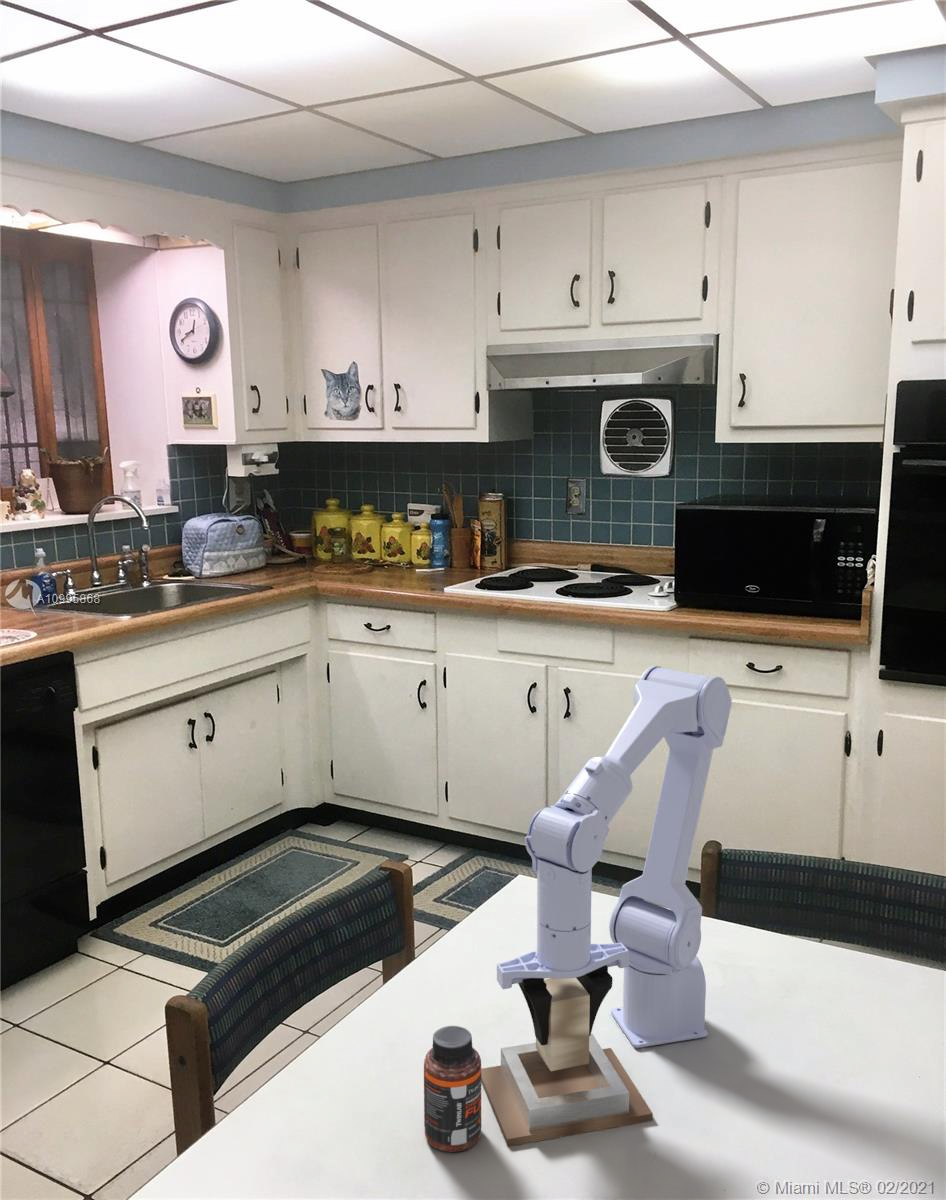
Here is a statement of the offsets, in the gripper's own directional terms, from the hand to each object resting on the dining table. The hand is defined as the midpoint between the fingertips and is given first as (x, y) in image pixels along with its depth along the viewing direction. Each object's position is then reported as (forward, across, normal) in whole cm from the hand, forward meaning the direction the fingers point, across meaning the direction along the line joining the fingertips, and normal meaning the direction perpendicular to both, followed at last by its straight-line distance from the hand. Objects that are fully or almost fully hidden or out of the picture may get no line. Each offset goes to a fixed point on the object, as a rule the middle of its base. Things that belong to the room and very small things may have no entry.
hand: (562, 1035), depth 112 cm
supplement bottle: (+8, +13, +2) cm, 15 cm away
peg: (+2, 0, 0) cm, 3 cm away
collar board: (+7, 0, 0) cm, 7 cm away
